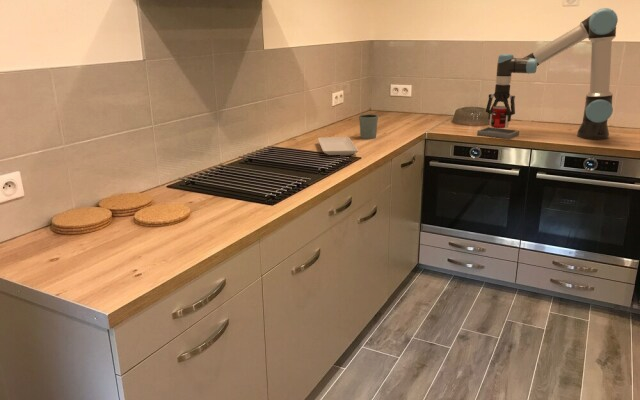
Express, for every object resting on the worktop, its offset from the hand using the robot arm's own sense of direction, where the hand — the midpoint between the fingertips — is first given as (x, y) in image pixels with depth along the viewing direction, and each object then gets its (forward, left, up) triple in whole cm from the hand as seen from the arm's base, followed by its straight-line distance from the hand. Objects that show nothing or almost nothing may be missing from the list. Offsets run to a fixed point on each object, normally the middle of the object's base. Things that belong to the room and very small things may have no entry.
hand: (498, 126), depth 286 cm
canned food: (0, 0, 0) cm, 0 cm away
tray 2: (0, 0, -5) cm, 5 cm away
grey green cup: (+54, +47, -5) cm, 72 cm away
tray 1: (+51, +79, -5) cm, 94 cm away
